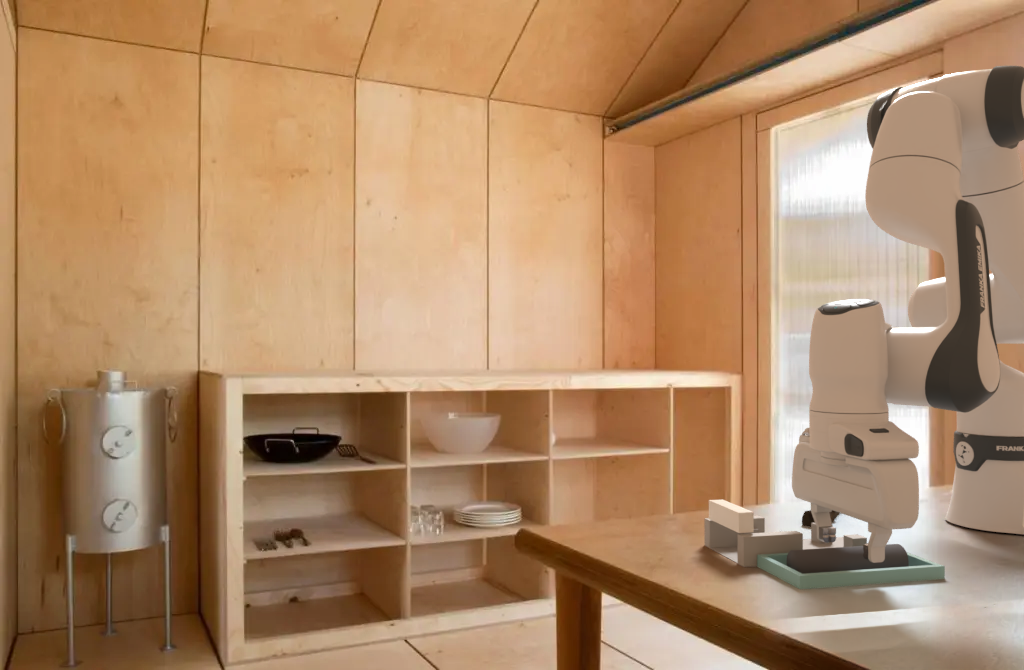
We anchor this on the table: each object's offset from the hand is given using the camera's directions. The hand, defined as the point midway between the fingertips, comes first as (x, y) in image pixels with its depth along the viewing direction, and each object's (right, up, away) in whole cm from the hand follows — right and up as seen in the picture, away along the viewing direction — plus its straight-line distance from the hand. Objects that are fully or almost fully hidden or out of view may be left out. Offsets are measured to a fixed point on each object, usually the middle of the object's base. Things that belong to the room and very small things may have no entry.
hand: (849, 550), depth 102 cm
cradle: (-2, -4, +10) cm, 11 cm away
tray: (0, -4, 0) cm, 4 cm away
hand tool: (+9, -4, +32) cm, 34 cm away
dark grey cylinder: (0, -3, 0) cm, 3 cm away
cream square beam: (-12, +1, +8) cm, 15 cm away
